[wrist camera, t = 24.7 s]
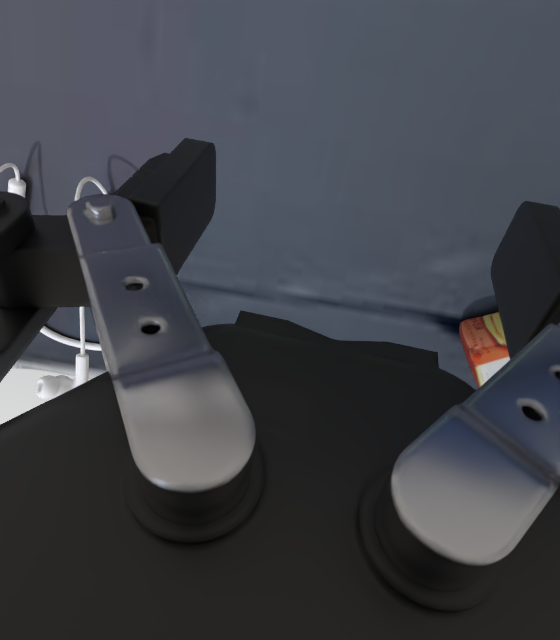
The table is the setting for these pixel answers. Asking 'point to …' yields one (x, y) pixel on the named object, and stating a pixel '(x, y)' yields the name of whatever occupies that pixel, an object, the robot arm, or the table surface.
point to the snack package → (484, 346)
